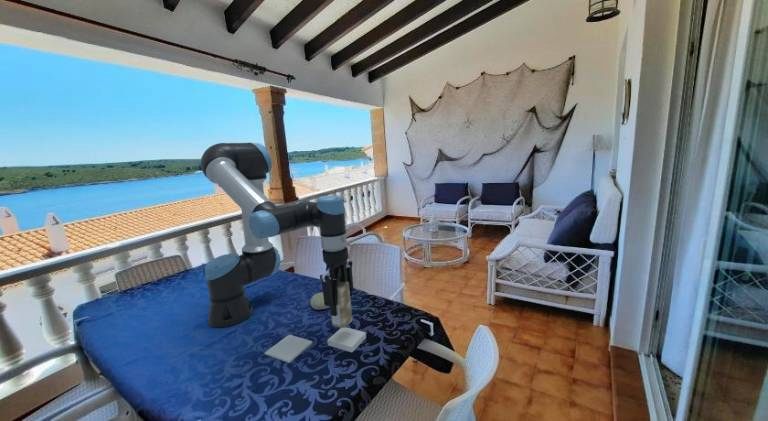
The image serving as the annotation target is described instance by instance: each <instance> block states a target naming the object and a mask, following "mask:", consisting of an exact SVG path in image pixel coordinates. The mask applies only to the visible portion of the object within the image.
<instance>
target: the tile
mask: <svg viewBox="0 0 768 421" xmlns="http://www.w3.org/2000/svg"><path fill="white" fill-rule="evenodd" d="M365 339H367V332H366V331H361V330H358V329H354V328H350V327H347V326H346V327H345V328H341V327H339V329H338V330H337V331H336V332H335V333H333V334H332V335H331V337H329V338H328V339H327V345H328V347H332V348H336V349H339V350H342V351H345V352H349V353H353V352H354V351H356V349H357V348H358V347H359V346H360V345H361V344H362V343H363V342H364V340H365Z"/></svg>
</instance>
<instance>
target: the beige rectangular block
mask: <svg viewBox="0 0 768 421" xmlns="http://www.w3.org/2000/svg"><path fill="white" fill-rule="evenodd" d="M349 287H350V286H349V282H341V281H340V282H339V283H338V287H337V290H338V301H337V304H339V306H340V316H341V325H336V324H333V322H332V321H331V325H332V326H334V327H337V328H345V327H346V328H347V327H348V325H349V324H351V323H352V322H353V312H352V301H351V296H350V289H349ZM330 317H331V320H332V315H331V314H330Z"/></svg>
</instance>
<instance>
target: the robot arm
mask: <svg viewBox="0 0 768 421" xmlns="http://www.w3.org/2000/svg"><path fill="white" fill-rule="evenodd" d="M272 168H273V160H272V156H271V154H270V152H269V150H268V149H267V147H265V146H264V145H263V144H262V143H259V142H258V143H257V142H219V143H215V144H213V145H211V146H209V147H208V148H206V150H204V152H203V154H202V155H201V159H200V169H201V171H202V173H203V175H204V176H205V177H206V178H207V180H208V181H210V183H213V184H216V185H218V186H219V188H221V189H222V190H223V192H225V194H227V196H228V197H229V198H230V199H232V201H233V202H234V203H235V204H236V205H237V206H238V207H239V208H240V209H241V218H242V227H243V234H244V243H245V244H244V245H243V246H242V247H241V254H240V255H239V254H238V253H234V252H233V253H232V252H231V253H228V254H226V253H225V254H223V255H219V256H216V257H215V258H212V259H211V260H209V261H208V262H207V263H206V264H205V267H204V270H205V273H204V274H205V279H206V284H207V290H208V294H209V300H210V304H209V310H208V316H207V321H208V325H209V326H211V327H212V328H227V327H231V326H234V325H237V324H239V323H242V322H244V321H246V320H248V319H249V318H250V317H251V316H252V315H253V312H254V311H253V310H254V308H253V304H252V302H251V301H250V299H249V297H248V296H247V294H246V293H245V286H246V285H250V284H252V283H254V282H258V281H259V280H262V279H265V278H269V277H271V276H273V275H275V274H276V273H277V272H278V271H279V269H280V267H281V255H280V253H279V250H278V249H277V248H276V247H275V246H274V245H273V243H272V242H271V241H269V238H272V237H276V236H279V235H282V234H286V233H289V232H293V231H297V230H301V229H305V228H309V227H315V228H319V231H320V232H319V235H320V242H321V244H320V245H321V249H322V261H323V262H324V264H325V265H326V267H325V273H324V274H320V275H319V279H320V281H321V288H322V292H323V297H324V305H325V306H329V309H330V316H331V315H332V319H331V323H332V322H333V324H336V325H341V316H340V306H339V304H337V301H338V290H337V287H338V283H339V282H340V281H341V282H349V289H350V297H352V296H353V291H354V278H353V261H351V260H349V249H348V247H347V246H348V239H347V228H346V213H345V204H344V200H343V198H342V196H340V195H324V196H323V195H322V196H320V197H318V198H317V199H316V201H310V200H305V201H298V202H296V203H294V204H291V205H284V206H281V207H280V206H278V205H276V204H275V203H273V201H272V200H270V198H268V197H267V196H266V195H265V191H264V182H265V181H266V180H267V174H268V173H270V172H271V170H272Z"/></svg>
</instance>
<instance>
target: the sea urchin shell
mask: <svg viewBox="0 0 768 421" xmlns="http://www.w3.org/2000/svg"><path fill="white" fill-rule="evenodd" d="M309 303H310V306H311V308H312V309H313V310H315V311H316V310H317V311H320V310H325V309H330V307H329V306H325V305H324V297H323V291H322V292H318V293H315V294H314V295H313V296H311V298H310V302H309Z"/></svg>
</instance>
